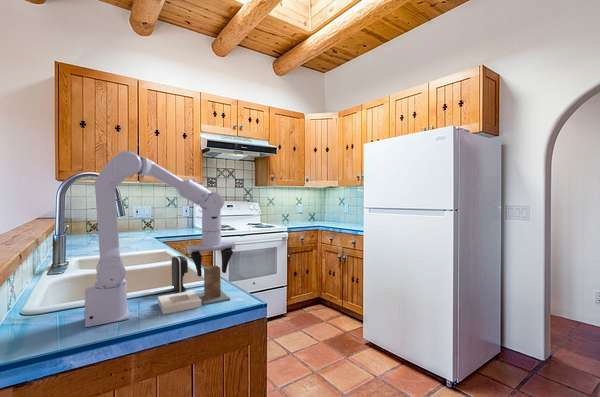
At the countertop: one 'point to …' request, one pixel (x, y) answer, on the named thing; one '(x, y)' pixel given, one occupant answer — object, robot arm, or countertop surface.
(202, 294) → the mat
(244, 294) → the countertop surface
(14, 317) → the countertop surface
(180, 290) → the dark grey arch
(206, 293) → the peg
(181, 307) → the holder
